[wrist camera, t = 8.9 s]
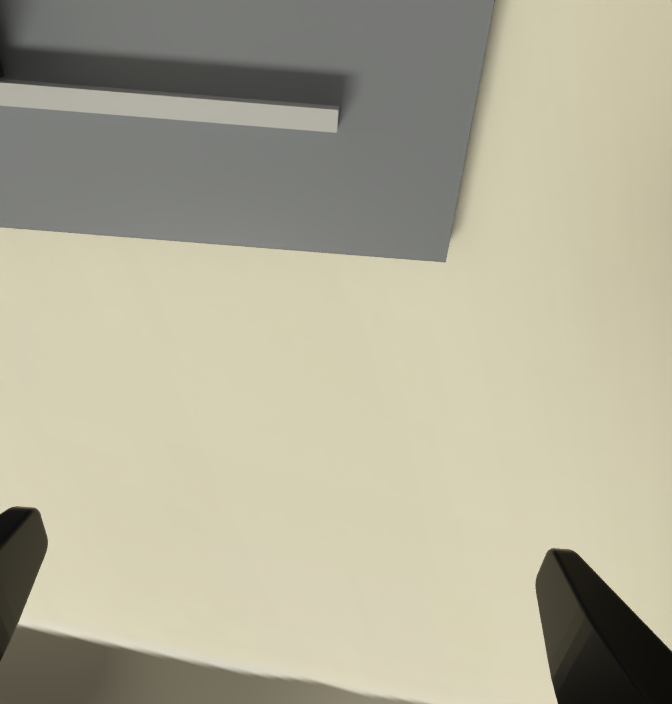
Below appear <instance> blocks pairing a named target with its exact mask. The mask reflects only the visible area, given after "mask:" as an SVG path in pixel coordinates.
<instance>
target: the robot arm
mask: <svg viewBox="0 0 672 704" xmlns="http://www.w3.org/2000/svg"><path fill="white" fill-rule="evenodd" d="M47 546H48V539H47V535H46V531H45V528H44V525H43V521H42V518H41V514H40V512H39V511H38V510H37V509H36V508H32V507H19V506H16V507H11V508H9V509H7V510H6V511H4V512H3V513H1V514H0V661H1V659H2V657H3V655H4V653H5V651H6V649H7V647H8V645H9V643H10V641H11V638H12V636H13V634H14V631H15V629H16V627H17V624H18V622H19V619H20V617H21V614H22V612H23V609H24V607H25V604H26V602H27V599H28V597H29V594H30V592H31V589H32V587H33V584H34V582H35V579H36V577H37V574H38V572H39V569H40V567H41V564H42V562H43V559H44V557H45V554H46V551H47ZM536 594H537V600H538V606H539V612H540V617H541V623H542V629H543V635H544V640H545V646H546V652H547V658H548V663H549V668H550V674H551V679H552V683H553V687H554V691H555V694H556V698H557V702H558V704H672V651H671V650H670V649H669V648H668V647H667V646H666V645H665V644H664V643H663V642H662V641H661V640H660V639H659V638H658V637H657V636H656V635H655V634H654V632H653V631H652V630H651V629H650V628H649V627H648V626H647V625H646V624H645V623H644V622H643V621H642V620H641V619H640V618H639V617H638V616H637V615H636V614H635V613H634V612H633V611H632V610H631V609H630V608H629V607H628V606H627V605H626V604H625V602H624V601H623V600H622V599H621V598H620V597H619V596H618V595H617V594H616V593H615V592H614V591H613V590H612V589H611V588H610V587H609V586H608V585H607V584H606V583H605V582H604V581H603V580H602V579H601V578H600V577H599V576H598V575H597V573H596V572H595V571H594V570H593V569H592V568H591V567H590V566H589V565H588V564H587V563H586V562H585V561H584V560H583V559H582V558H581V557H580V556H579V555H578V554H577V553H576V552H574V551H572V550H569V549H556V548H552V549H550V550H548V552H547V553H546V555H545V558H544V560H543V563H542V565H541V567H540V570H539V572H538V574H537V577H536Z"/></svg>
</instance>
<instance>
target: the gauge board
mask: <svg viewBox="0 0 672 704" xmlns="http://www.w3.org/2000/svg"><path fill="white" fill-rule="evenodd" d="M494 1H495V0H0V59H1V63H2V68H3V72H4V77H0V227H4V228H16V229H29V230H42V231H54V232H67V233H80V234H92V235H105V236H118V237H131V238H143V239H156V240H169V241H181V242H194V243H207V244H219V245H232V246H245V247H257V248H270V249H283V250H296V251H308V252H321V253H334V254H346V255H359V256H372V257H384V258H397V259H410V260H423V261H435V262H446V258H447V252H448V247H449V242H450V236H451V231H452V226H453V220H454V215H455V209H456V204H457V199H458V193H459V188H460V183H461V177H462V172H463V167H464V161H465V156H466V151H467V145H468V140H469V135H470V129H471V124H472V119H473V113H474V108H475V103H476V97H477V92H478V87H479V81H480V76H481V71H482V65H483V60H484V55H485V49H486V44H487V39H488V33H489V28H490V22H491V17H492V12H493V6H494Z"/></svg>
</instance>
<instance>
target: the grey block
mask: <svg viewBox="0 0 672 704" xmlns="http://www.w3.org/2000/svg"><path fill="white" fill-rule="evenodd" d="M0 77H4V72H3V68H2V63H1V59H0Z"/></svg>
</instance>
